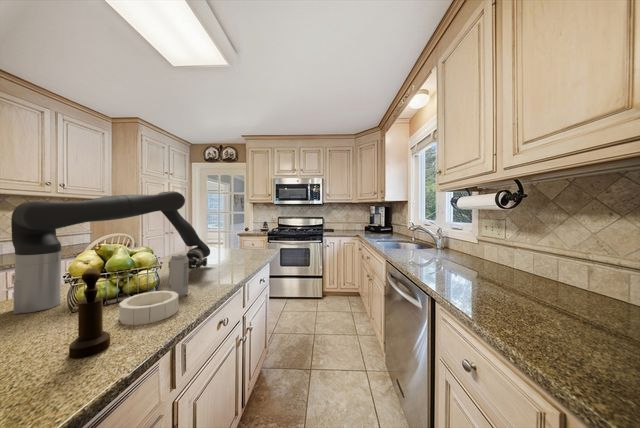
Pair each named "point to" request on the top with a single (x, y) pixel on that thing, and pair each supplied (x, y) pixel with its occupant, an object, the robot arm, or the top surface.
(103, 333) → the dark brown wooden stand
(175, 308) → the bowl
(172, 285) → the energy drink can
